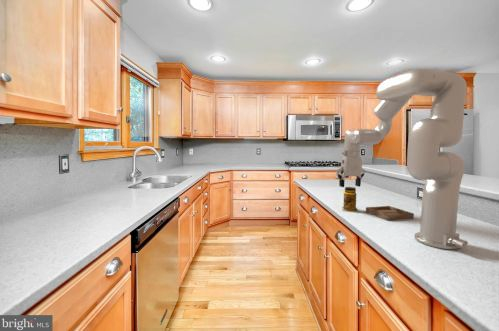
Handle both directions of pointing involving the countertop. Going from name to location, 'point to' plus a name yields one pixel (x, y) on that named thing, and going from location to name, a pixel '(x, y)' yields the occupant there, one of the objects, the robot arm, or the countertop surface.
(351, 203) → the condiment
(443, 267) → the countertop surface
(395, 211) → the walnut tray
